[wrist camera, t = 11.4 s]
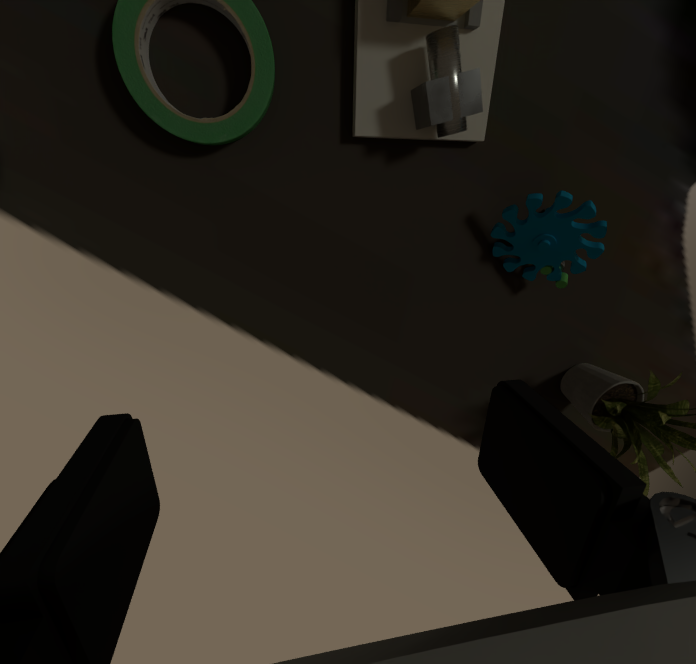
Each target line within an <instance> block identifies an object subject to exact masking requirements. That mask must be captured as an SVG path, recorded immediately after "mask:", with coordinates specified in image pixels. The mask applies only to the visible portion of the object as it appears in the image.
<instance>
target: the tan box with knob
mask: <svg viewBox="0 0 696 664" xmlns="http://www.w3.org/2000/svg"><path fill="white" fill-rule="evenodd" d="M479 1H480V0H408V7H407V17H415V18H425V19H436V20H446V21H456V20H457V19H458V18H459V17H460V16H462V15H463V14H464V13H465V12H467V11H468V10H469V9H470V8H471V7H473V6H474V5H475V4H476V3H478V2H479Z"/></svg>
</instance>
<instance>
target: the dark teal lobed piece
mask: <svg viewBox="0 0 696 664" xmlns="http://www.w3.org/2000/svg"><path fill="white" fill-rule="evenodd" d="M572 198H573V196H572V195H571V194H570V193H568V192H565V191H562V190H561V191H559V192H558V193H557V195H556V199H555V202H554V203H553V205H552V206H551V207H550V208H547V209H546V210H545V212H543V213H537V212H536V211H535V210H536V209H538V208H539V207H540V206H541V204H542V200H543V195H542V194H538V193H535V194H529V195H528V196H527V200H526V206H527V208H528V210H529V216H528V218H527V219H526V220H519V219H518V218H517V213H518V207H517V206H516V205H511V206H509V207H507V208H505V209H504V210H503V213H502V217H503V218H504V219H505V220H507V221H508V222H510V223H511V224H512V225H513V227H514V229H515V232H513V233H509V232H507V231H506V229H505V226H504V225H503V224H502V223H497V224H496V225H495V226H494V227H493V229H492V232H491V236H492V237H493V238H499V239H504V240H506V241H508V242H509V243H511V244H512V245H513V246H511V247H508V246H506V245H504V244H503V243H501V242H495V244H494V247H493V256H495V257H500V256H502V255H515V256H519V257H520V258H519V259H515V258H506V259H505V260H504V263H503V267H504V268H505V270H506V271H507V272H512V271H514V270H515V269H516V268H517V267H519V266H521V265H525V264H533V265H535V266H531V267H527V268H525V269H524V270H523V275H522V277H524V278H525V279H527V280H530V281H533V280H534V279H535V278H536V274H537V272H538V271H539V270H540V269H541V270H540V271H541V273H542V274H544V275H547V280H550V281H556V287H558V288H565V287H566V286H567V281H568V274H566V273H563V272H562V271H563V270H564V264H565V263H564V260H570V261H572V263H571V269H570V271H571V273H573V274H577V273H581V272H583V271H586V262H585V261H584V260H582V259H581V258H579V257H578V256H577V254H576V252H575V250H577V249H579V248H583V249H585V250H586V251H587V255H588V257H589V258H592V259H596V258H597V257H599V256H600V255H601V254H602V253H603V252H604V245H603V244H602V243H599V242H591V241H588V240H585V239H584V238H583V237H581V236H580V235H581V234H582V233H589V234H591V235H592V236H593V237H595V238H604V236H605V234H606V230H607V222H606V221H597V222H595V223H590V224H581V223H576V222H574V221H573V220H574V219H576V218H582V219H591V218H593V217H595V216H596V207H595V205H594V203H593V202H592V201H586V202H584V203H583V204H582V205H581V206H580V207H579V208H577V209H576V210H574V211H571V212H568V213H564V214H559V213H557V212H556V211H557V210H559V209H563V208H566V207H568V206H570V205H571V203H572Z"/></svg>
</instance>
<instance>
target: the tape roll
mask: <svg viewBox="0 0 696 664" xmlns="http://www.w3.org/2000/svg"><path fill="white" fill-rule="evenodd" d="M184 3H197V4H202V5H206V6H209V7H211V8H213V9H215V10H217V11H219V12H220V13H221V14H223V15H224V16H226V17H227V18H228V19H229V20H230V21H231V22H232V23H233V24H234V25H235V27H236V28H237V29H238V30H239V32H240V33H241V35H242V37H243V38H244V40H245V42H246V44H247V47H248V49H249V53H250V56H251V79H250V83H249V86H248V89H247V92H246V94H245V96H244V97H243V99H242V101H241V102H240V103H239V104H238V105H237V106H236V107H235V108H234V109H233V110H231V111H230V112H229V113H227V114H225V115H223V116H220V117H217V118H202V119H197V118H193V117H190V116H187V115H185V114H183V113H181V112H179V111H178V110H177V109H175V108H174V107H173V106H172V105H171V104H170V103H169V102H168V101H167V100H166V98H165V97H164V96H163V95H162V93H161V92H160V90H159V88H158V86H157V84H156V82H155V80H154V78H153V75H152V72H151V68H150V63H149V41H150V36H151V33H152V30H153V28H154V26H155V24H156V22H157V21H158V19H159V18H160V17H161V16H162V15H163V14H164V13H165V12H166V11H168V10H169V9H171V8H173V7H175V6H177V5H180V4H184ZM112 41H113V49H114V54H115V59H116V63H117V66H118V69H119V72H120V74H121V77H122V79H123V81H124V83H125V85H126V87H127V89H128V91H129V92H130V94H131V96H132V97H133V99H134V100H135V101H136V103H137V104H138V105H139V107H140V108H141V109H142V110H143V111H144V112H145V114H146V115H147V116H148V117H150V118H151V119H152V120H153V121H154V122H155V123H156V124H158V125H159V126H160V127H162V128H163V129H165V130H166V131H168V132H169V133H171V134H173V135H175V136H177V137H179V138H182V139H184V140H187V141H191V142H194V143H198V144H203V145H223V144H228V143H231V142H234V141H237V140H239V139H241V138H243V137H244V136H246V135H247V134H249V133H250V132H251V131H252V130H253V129H254V128H255V127H256V126H257V125H258V124H259V123H260V121H261V120H262V119H263V117H264V115H265V114H266V112H267V109H268V107H269V105H270V102H271V98H272V94H273V89H274V78H275V65H274V54H273V48H272V43H271V40H270V36H269V33H268V30H267V28H266V25H265V23H264V21H263V19H262V17H261V15H260V13H259V11H258V9H257V8H256V6H255V5H254V3H253V2H252V0H118V2H117V5H116V8H115V12H114V18H113V25H112Z"/></svg>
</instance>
